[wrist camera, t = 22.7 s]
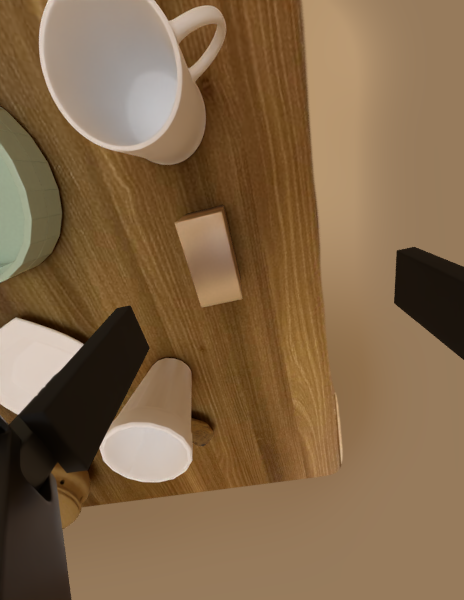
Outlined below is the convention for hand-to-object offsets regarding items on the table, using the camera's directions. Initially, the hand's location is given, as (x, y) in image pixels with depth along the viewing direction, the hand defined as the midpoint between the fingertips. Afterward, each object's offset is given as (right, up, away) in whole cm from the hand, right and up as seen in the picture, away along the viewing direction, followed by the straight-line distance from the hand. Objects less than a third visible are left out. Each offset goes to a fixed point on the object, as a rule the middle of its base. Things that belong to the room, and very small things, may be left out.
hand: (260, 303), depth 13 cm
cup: (-11, -11, +27) cm, 31 cm away
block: (-4, +7, +18) cm, 20 cm away
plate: (-28, -11, +27) cm, 41 cm away
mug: (-7, +19, +12) cm, 24 cm away
